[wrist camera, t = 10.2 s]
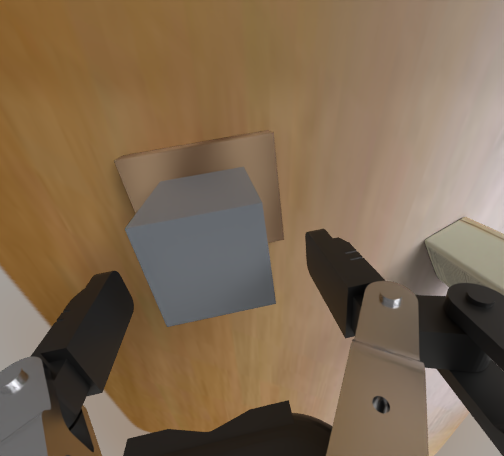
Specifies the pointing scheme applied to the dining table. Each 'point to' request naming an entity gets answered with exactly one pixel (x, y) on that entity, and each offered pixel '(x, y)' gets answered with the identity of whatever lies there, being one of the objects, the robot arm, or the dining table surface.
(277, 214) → the wooden stand with post
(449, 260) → the skincare box
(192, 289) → the blue-grey rectangular block
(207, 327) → the dining table surface
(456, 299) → the robot arm
